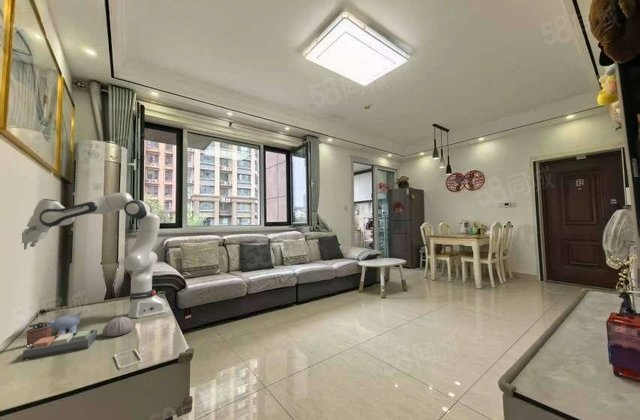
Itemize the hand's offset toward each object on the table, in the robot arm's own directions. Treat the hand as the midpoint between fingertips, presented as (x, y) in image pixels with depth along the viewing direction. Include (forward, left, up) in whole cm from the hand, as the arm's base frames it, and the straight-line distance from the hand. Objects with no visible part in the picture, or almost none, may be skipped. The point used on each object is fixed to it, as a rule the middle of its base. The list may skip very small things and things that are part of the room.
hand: (27, 247), depth 151 cm
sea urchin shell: (-50, +39, -45) cm, 78 cm away
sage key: (-37, +47, -42) cm, 73 cm away
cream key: (-31, +47, -42) cm, 70 cm away
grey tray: (-31, +47, -45) cm, 72 cm away
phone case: (-60, +76, -46) cm, 107 cm away
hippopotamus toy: (-23, +22, -45) cm, 55 cm away
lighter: (-18, +34, -45) cm, 59 cm away
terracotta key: (-24, +47, -42) cm, 67 cm away
